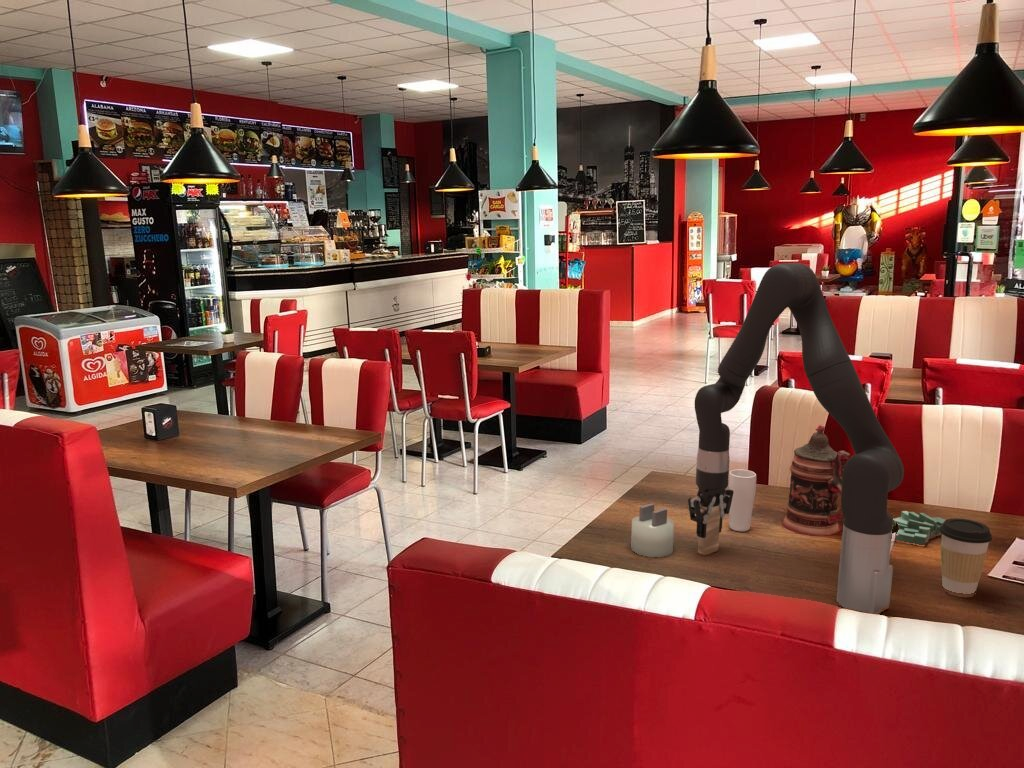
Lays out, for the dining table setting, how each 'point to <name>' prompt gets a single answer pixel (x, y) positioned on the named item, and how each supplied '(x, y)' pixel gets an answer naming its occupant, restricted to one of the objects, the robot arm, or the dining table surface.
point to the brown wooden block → (710, 532)
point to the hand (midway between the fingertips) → (709, 534)
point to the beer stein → (815, 488)
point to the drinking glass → (741, 499)
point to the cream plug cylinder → (652, 532)
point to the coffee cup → (963, 554)
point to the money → (917, 527)
